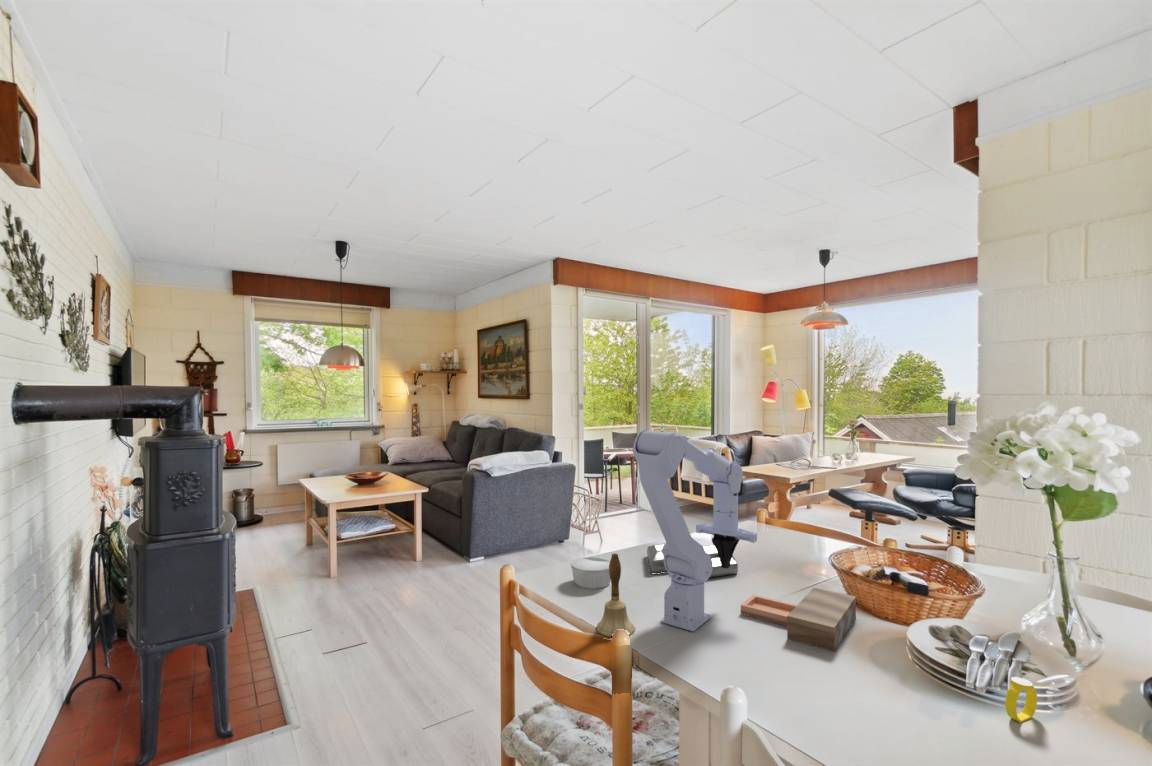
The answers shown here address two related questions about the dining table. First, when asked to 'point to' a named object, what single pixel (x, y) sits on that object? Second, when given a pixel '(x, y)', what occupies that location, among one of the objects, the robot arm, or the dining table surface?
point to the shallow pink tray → (767, 609)
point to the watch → (1013, 696)
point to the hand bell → (614, 605)
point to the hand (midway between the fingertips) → (725, 567)
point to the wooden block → (821, 618)
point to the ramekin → (591, 572)
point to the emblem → (658, 560)
